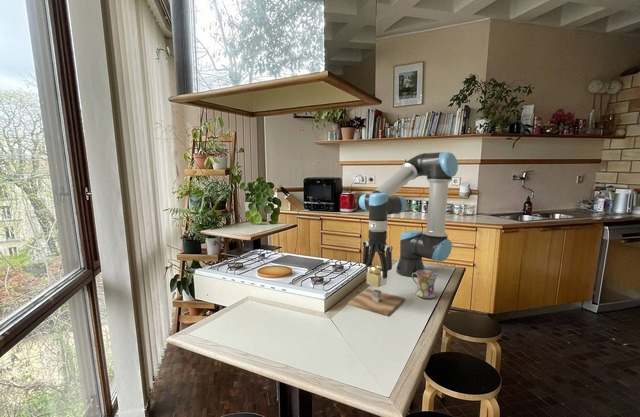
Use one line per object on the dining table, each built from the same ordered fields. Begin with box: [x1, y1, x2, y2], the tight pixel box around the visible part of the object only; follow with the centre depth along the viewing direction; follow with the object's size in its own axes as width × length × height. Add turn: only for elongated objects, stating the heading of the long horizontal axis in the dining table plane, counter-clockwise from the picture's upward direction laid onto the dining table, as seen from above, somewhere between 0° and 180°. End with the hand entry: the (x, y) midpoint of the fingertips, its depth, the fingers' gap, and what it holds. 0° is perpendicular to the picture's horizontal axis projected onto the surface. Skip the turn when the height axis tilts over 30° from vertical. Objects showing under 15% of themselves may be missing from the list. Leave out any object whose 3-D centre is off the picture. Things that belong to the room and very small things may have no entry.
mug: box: [411, 269, 438, 299], centre depth 139 cm, size 12×9×11 cm
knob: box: [365, 264, 382, 288], centre depth 131 cm, size 6×6×8 cm
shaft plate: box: [347, 288, 405, 317], centre depth 132 cm, size 18×18×5 cm
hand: (376, 283), depth 131 cm, fingers closed on knob, 6 cm apart
